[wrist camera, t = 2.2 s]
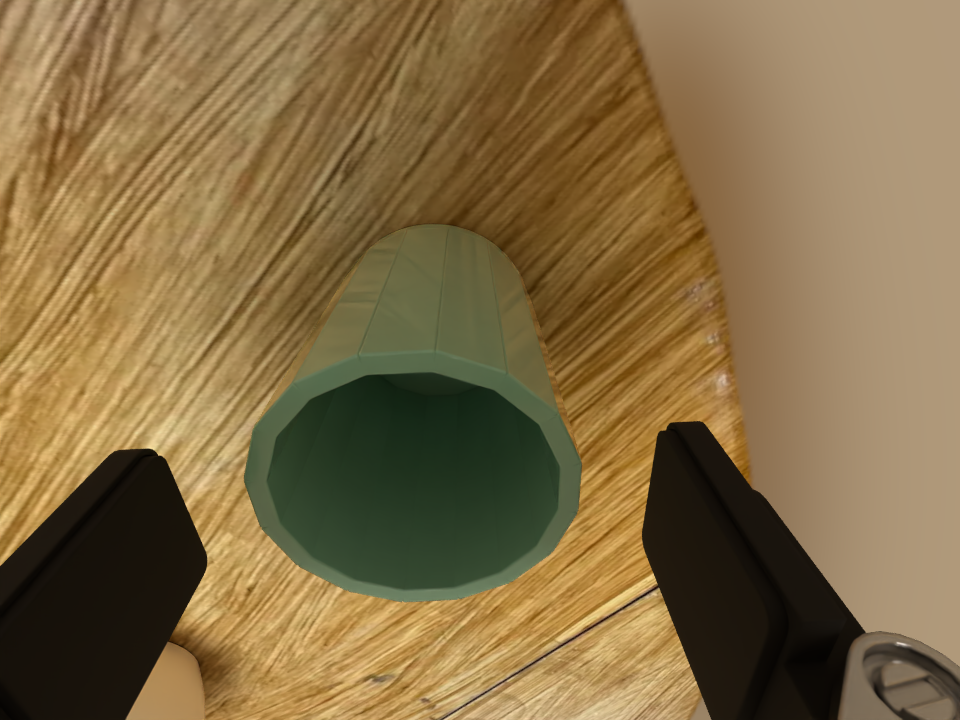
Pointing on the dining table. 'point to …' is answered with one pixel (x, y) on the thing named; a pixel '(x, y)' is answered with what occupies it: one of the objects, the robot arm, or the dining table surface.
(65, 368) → the dining table surface
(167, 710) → the cup
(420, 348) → the tumbler
